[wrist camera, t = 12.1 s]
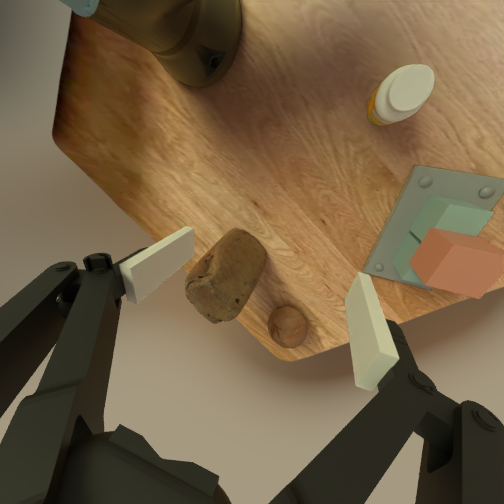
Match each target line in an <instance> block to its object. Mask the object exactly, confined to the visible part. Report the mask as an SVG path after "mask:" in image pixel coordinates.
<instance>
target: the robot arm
mask: <svg viewBox="0 0 504 504" xmlns="http://www.w3.org/2000/svg"><path fill="white" fill-rule="evenodd" d="M59 1H61V2H63V3H64V4H66V5H67V6H69V7H70V8H71V9H72V10H73V11H74V12H75V13H76V14H78V15H80V16H82V17H86V18H89V19H91V20H93V21H95V22H97V23H98V24H100V25H102V26H104V27H106V28H108V29H110V30H112V31H114V32H115V33H117V34H119V35H121V36H123V37H125V38H127V39H129V40H131V41H132V42H134V43H136V44H138V45H140V46H142V47H143V48H145V49H147V50H149V51H151V52H152V54H153V55H154V56H155V57H156V59H157V60H158V61H159V62H160V63H161V64H162V66H163V67H164V68H165V70H166V71H167V72H168V73H169V74H170V75H171V76H173V77H174V78H175V79H177V80H178V81H180V82H182V83H185V84H187V85H189V86H192V87H207V86H210V85H212V84H214V83H215V82H217V81H218V80H219V79H221V78H222V77H223V75H224V74H225V73H226V72H227V70H228V69H229V67H230V66H231V64H232V62H233V60H234V57H235V55H236V52H237V49H238V45H239V40H240V34H241V8H240V1H239V0H59ZM193 257H194V228H192V227H188V226H185V227H183V228H182V229H180V230H178V231H176V232H175V233H173V234H171V235H169V236H168V237H166V238H164V239H163V240H161V241H159V242H157V243H156V244H154V245H152V246H151V247H149V248H148V247H146V248H143V249H140V250H138V251H136V252H134V253H133V254H131V255H129V256H128V257H125V258H124V259H122V260H120V261H118V262H116V263H115V264H112V260H111V256H110V255H109V254H107V253H95V254H91V255H89V256H87V257H85V258H84V259H83V262H84V265H85V268H86V270H81V269H78V268H77V265H76V263H74V262H69V261H68V262H59V263H57V264H54V265H52V266H50V267H49V268H47V269H46V270H45V271H44V272H43V273H41V274H40V275H39V276H38V277H37V278H35V279H34V280H33V281H32V282H31V283H29V284H28V285H27V286H26V287H25V288H23V289H22V290H21V291H20V292H19V293H18V294H16V295H15V296H14V297H13V298H11V299H10V300H9V301H8V302H7V303H5V304H4V305H3V306H2V307H0V418H1V417H2V415H3V414H4V413H5V411H6V410H7V408H8V407H9V406H10V404H11V403H12V402H13V400H14V399H15V398H16V396H17V395H18V394H19V392H20V391H21V390H22V388H23V387H24V386H25V384H26V383H27V382H28V380H29V379H30V377H31V376H32V375H33V373H34V372H35V371H36V369H37V368H38V366H39V365H40V364H41V363H42V361H43V360H44V359H45V357H46V356H47V355H48V353H49V352H50V350H51V349H52V348H53V347H54V345H55V344H56V346H55V348H54V350H53V353H52V355H51V357H50V360H49V362H48V364H47V367H46V369H45V371H44V374H43V376H42V379H41V381H40V383H39V386H38V388H37V390H36V392H35V393H34V394H33V395H29V396H26V397H25V398H24V399H23V400H22V401H21V402H20V404H19V406H18V407H17V410H16V411H15V414H14V416H13V418H12V420H11V422H10V425H9V426H8V429H7V431H6V433H5V435H4V437H3V439H2V442H1V444H0V504H231V502H230V500H229V498H228V496H227V495H226V493H225V492H224V490H223V489H222V488H221V487H220V486H219V484H218V480H219V476H218V475H216V474H214V473H212V472H210V471H208V470H207V469H204V468H203V467H201V466H199V465H197V464H195V463H193V462H185V461H176V460H167V459H162V458H160V457H159V455H158V454H157V453H156V452H155V451H154V450H153V448H152V447H151V446H150V445H149V443H148V442H147V441H146V440H145V439H144V437H143V436H142V435H140V434H138V433H136V432H134V431H132V430H130V429H128V428H126V427H124V426H122V425H121V424H119V426H118V427H117V429H116V430H115V431H110V432H104V418H103V415H104V407H105V401H106V395H107V388H108V382H109V376H110V370H111V364H112V358H113V352H114V346H115V340H116V334H117V327H118V321H119V315H120V309H121V303H122V300H121V297H122V296H123V295H124V294H126V297H127V300H128V301H130V302H133V303H135V304H138V303H139V302H141V301H142V300H143V299H144V298H145V297H146V296H148V295H149V294H150V293H151V292H152V291H154V290H155V289H156V288H157V287H158V286H160V285H161V284H162V283H163V282H164V281H165V280H167V279H168V278H169V277H170V276H171V275H173V274H174V273H175V272H176V271H177V270H178V269H179V268H181V267H182V266H183V265H184V264H185V263H187V262H188V261H189V260H190V259H191V258H193ZM57 297H59V298H58V299H57ZM56 299H57V300H56ZM344 302H345V310H346V317H347V325H348V332H349V339H350V347H351V354H352V362H353V369H354V376H355V384H356V386H357V387H360V388H363V389H365V390H368V391H371V392H372V391H373V390H374V389H375V388H376V387H377V386H378V390H379V393H378V394H377V395H376V396H375V397H374V398H373V399H372V400H371V401H370V402H369V403H368V404H367V405H366V406H365V407H364V408H363V409H362V410H361V411H360V412H359V413H358V414H357V415H356V416H355V417H354V418H353V419H352V420H351V421H350V422H349V423H348V424H347V426H345V427H344V428H343V429H342V430H341V432H339V434H338V435H337V436H336V437H335V438H334V439H333V440H332V441H331V442H330V443H329V444H328V445H327V446H326V447H325V448H324V449H323V450H322V451H321V452H320V453H319V454H318V455H317V456H316V457H315V458H314V459H313V460H312V461H311V462H310V463H309V464H308V465H307V466H306V467H305V468H304V469H303V470H302V471H301V472H300V473H299V474H298V476H297V477H296V478H295V479H294V480H292V481H291V482H290V483H289V484H288V485H287V486H286V487H285V488H284V489H283V490H282V491H281V492H280V493H279V494H278V495H277V496H276V497H275V498H274V499H273V500H272V501H271V502H270V503H269V504H364V503H365V502H366V500H367V498H368V497H369V496H370V494H371V493H372V491H373V490H374V488H375V487H376V485H377V484H378V482H379V481H380V480H381V478H382V477H383V475H384V474H385V472H386V471H387V469H388V468H389V466H390V465H391V463H392V462H393V460H394V459H395V457H396V456H397V455H398V453H399V451H400V450H401V449H402V447H403V446H404V444H405V443H406V441H407V440H408V438H409V437H410V435H411V434H412V432H413V431H414V432H415V433H416V434H418V435H420V436H421V437H422V438H424V444H423V451H422V458H421V465H420V473H419V480H418V488H417V495H416V503H415V504H504V426H503V424H502V423H501V421H500V420H499V419H498V418H497V417H496V416H495V415H494V414H493V413H492V412H490V411H489V410H488V409H486V408H485V407H484V406H482V405H480V404H478V403H476V402H473V401H469V400H467V401H463V402H462V403H461V404H458V403H457V402H455V401H453V400H452V399H450V398H448V397H447V396H445V395H443V394H442V393H440V392H439V391H437V389H436V386H435V385H434V383H433V382H432V380H431V379H430V378H429V377H428V376H427V375H425V374H424V373H423V372H421V371H419V369H418V367H417V365H416V362H415V360H414V357H413V355H412V353H411V351H410V348H409V346H408V344H407V341H406V339H405V336H404V334H403V332H402V330H401V328H400V327H399V326H398V325H397V324H396V322H394V321H391V320H388V319H385V317H384V314H383V311H382V308H381V305H380V303H379V300H378V297H377V294H376V291H375V289H374V286H373V283H372V280H371V277H370V275H368V274H364V273H360V272H358V273H357V275H356V278H355V280H354V282H353V284H352V286H351V288H350V290H349V292H348V294H347V296H346V298H345V300H344ZM56 342H57V343H56Z"/></svg>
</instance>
